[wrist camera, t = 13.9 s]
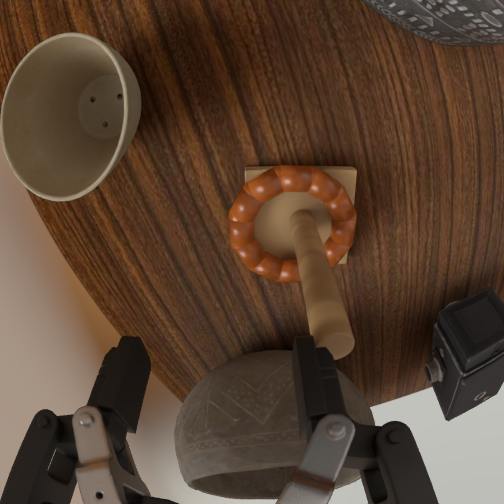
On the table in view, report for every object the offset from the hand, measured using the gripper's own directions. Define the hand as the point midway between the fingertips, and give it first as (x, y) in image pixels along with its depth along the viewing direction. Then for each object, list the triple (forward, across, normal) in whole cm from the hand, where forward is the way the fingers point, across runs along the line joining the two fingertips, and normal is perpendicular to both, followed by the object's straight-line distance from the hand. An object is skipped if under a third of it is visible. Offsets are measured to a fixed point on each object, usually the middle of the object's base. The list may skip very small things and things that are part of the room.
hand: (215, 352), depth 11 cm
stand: (+13, -5, 0) cm, 14 cm away
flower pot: (+13, +9, -10) cm, 19 cm away
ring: (+11, -5, 0) cm, 12 cm away
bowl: (+13, -3, +21) cm, 25 cm away
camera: (+12, -25, +14) cm, 31 cm away
